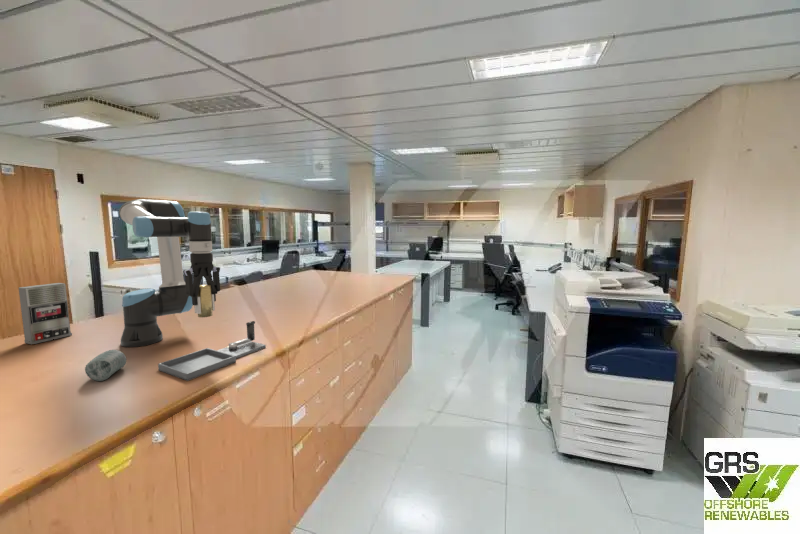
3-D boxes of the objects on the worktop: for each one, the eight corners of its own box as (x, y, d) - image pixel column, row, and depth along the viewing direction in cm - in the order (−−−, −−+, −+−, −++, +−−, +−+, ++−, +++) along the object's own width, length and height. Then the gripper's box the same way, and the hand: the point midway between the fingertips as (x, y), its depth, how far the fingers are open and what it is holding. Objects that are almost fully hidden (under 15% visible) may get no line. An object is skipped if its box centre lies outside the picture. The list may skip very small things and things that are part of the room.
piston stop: (195, 316, 131) (193, 286, 129) (207, 313, 135) (205, 284, 134) (203, 318, 129) (201, 287, 127) (215, 315, 133) (213, 285, 132)
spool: (112, 374, 111) (99, 347, 112) (83, 389, 110) (70, 362, 110) (139, 367, 125) (127, 343, 125) (113, 380, 123) (101, 356, 124)
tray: (158, 370, 122) (158, 363, 122) (207, 353, 139) (207, 347, 139) (187, 381, 114) (186, 374, 114) (235, 362, 131) (235, 355, 131)
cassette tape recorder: (32, 345, 146) (25, 288, 143) (24, 343, 148) (17, 287, 145) (72, 335, 159) (67, 283, 156) (64, 334, 161) (59, 282, 158)
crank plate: (213, 354, 138) (213, 351, 138) (247, 342, 152) (247, 339, 152) (232, 360, 133) (232, 356, 133) (265, 347, 147) (265, 344, 147)
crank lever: (232, 350, 139) (231, 328, 138) (227, 348, 141) (225, 327, 140) (257, 341, 151) (257, 321, 150) (253, 339, 152) (252, 320, 151)
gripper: (183, 254, 119) (187, 318, 122) (228, 251, 135) (231, 307, 138) (171, 253, 123) (175, 315, 125) (216, 250, 139) (219, 306, 141)
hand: (204, 311), depth 132 cm, fingers closed on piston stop, 5 cm apart
